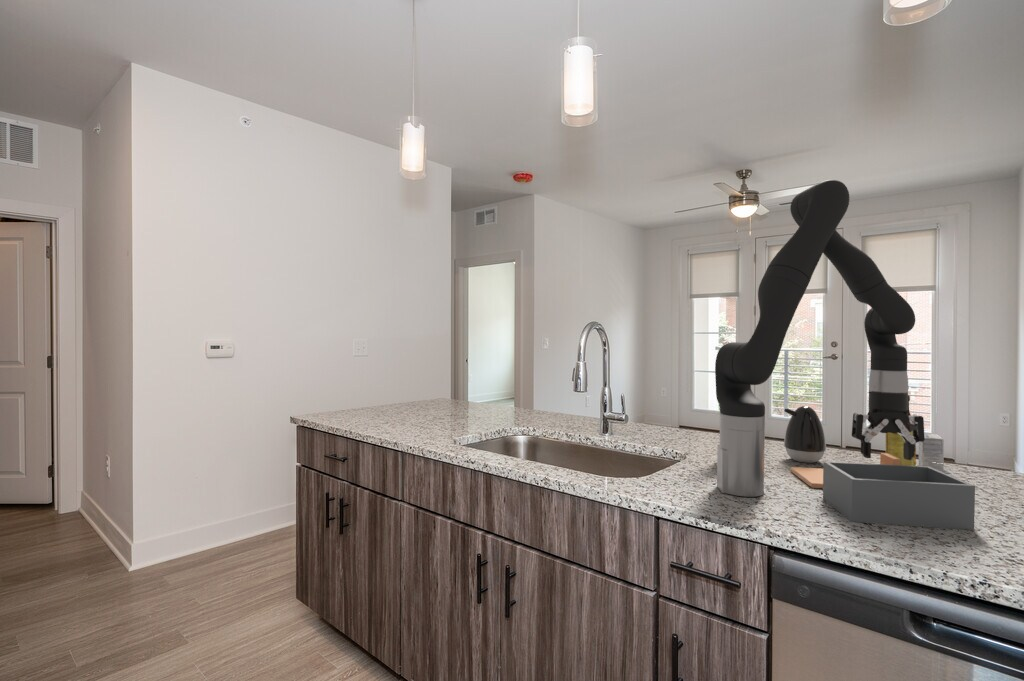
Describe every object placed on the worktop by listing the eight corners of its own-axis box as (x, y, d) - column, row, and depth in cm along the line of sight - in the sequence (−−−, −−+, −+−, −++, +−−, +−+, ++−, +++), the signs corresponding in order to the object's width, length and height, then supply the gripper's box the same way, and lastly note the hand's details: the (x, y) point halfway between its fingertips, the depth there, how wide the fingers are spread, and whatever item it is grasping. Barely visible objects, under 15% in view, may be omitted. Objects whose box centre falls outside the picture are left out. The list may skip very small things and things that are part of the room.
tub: (851, 521, 99) (852, 479, 99) (822, 498, 113) (823, 461, 112) (974, 530, 95) (975, 485, 95) (928, 505, 109) (929, 466, 109)
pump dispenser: (778, 455, 152) (779, 403, 152) (817, 457, 150) (818, 404, 150) (789, 464, 142) (790, 408, 142) (831, 466, 140) (832, 409, 140)
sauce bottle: (921, 476, 131) (922, 396, 131) (892, 474, 132) (894, 395, 132) (906, 469, 137) (908, 393, 137) (880, 468, 139) (881, 392, 138)
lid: (811, 490, 120) (811, 459, 120) (790, 473, 134) (790, 445, 134) (913, 496, 116) (913, 463, 116) (880, 477, 130) (880, 449, 130)
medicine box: (943, 473, 134) (944, 439, 134) (921, 470, 136) (922, 437, 136) (938, 466, 141) (939, 434, 141) (917, 464, 143) (918, 432, 143)
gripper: (913, 388, 126) (912, 456, 126) (847, 387, 128) (846, 453, 129) (932, 392, 118) (930, 464, 119) (861, 390, 121) (860, 460, 121)
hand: (886, 458), depth 124 cm, fingers open, 8 cm apart
